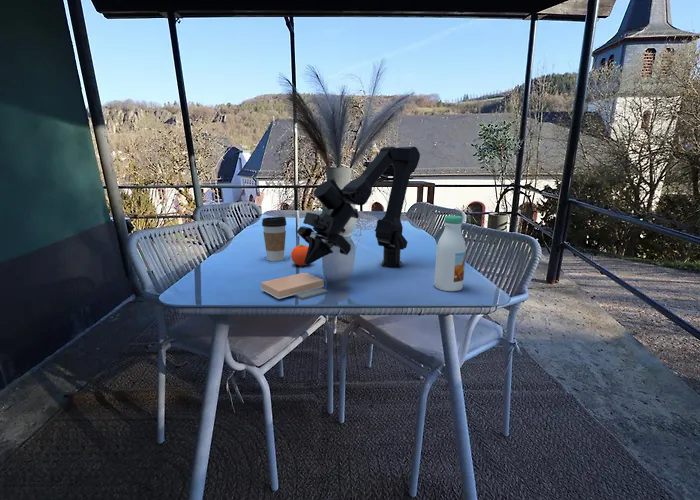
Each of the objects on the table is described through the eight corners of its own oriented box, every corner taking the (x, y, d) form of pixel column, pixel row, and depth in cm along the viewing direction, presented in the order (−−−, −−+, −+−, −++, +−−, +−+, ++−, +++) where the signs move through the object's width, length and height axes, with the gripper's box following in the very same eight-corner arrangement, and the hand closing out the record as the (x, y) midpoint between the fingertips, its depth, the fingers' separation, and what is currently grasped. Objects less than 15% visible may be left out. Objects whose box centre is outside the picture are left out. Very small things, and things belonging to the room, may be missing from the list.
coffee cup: (285, 262, 125) (283, 219, 121) (260, 262, 125) (258, 219, 121) (289, 256, 133) (288, 215, 129) (266, 256, 133) (264, 215, 129)
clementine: (288, 262, 125) (288, 242, 123) (308, 260, 127) (308, 241, 125) (293, 268, 117) (293, 247, 116) (314, 266, 120) (314, 246, 118)
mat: (296, 279, 107) (296, 277, 107) (327, 292, 96) (327, 290, 96) (272, 284, 102) (272, 282, 102) (302, 299, 91) (302, 297, 91)
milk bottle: (443, 293, 97) (448, 219, 92) (429, 284, 104) (433, 214, 99) (468, 290, 99) (474, 217, 94) (452, 281, 106) (458, 213, 101)
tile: (304, 272, 105) (261, 282, 96) (323, 279, 98) (278, 291, 89) (305, 278, 105) (261, 289, 96) (323, 286, 99) (278, 298, 90)
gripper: (301, 198, 105) (269, 240, 101) (342, 204, 92) (307, 253, 87) (323, 222, 112) (294, 263, 108) (364, 231, 99) (333, 278, 94)
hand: (305, 264), depth 99 cm, fingers closed
